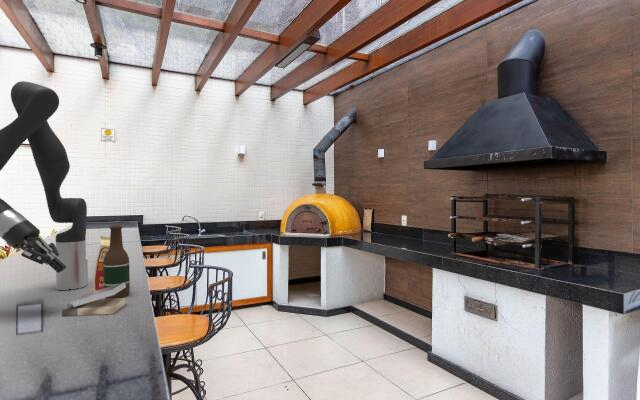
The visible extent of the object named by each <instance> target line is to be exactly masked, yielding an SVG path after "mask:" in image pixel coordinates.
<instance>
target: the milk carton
mask: <svg viewBox="0 0 640 400" xmlns="http://www.w3.org/2000/svg"><path fill="white" fill-rule="evenodd" d="M99 238H100V246H99V250H98V253H97V257H96V261H95V267H94V274H93V281H92V282H93V283H92V284H93V286H92V287H93V290H92V292H93V291H97V290H100V289H103V288H104V287H103V261H104V257H105V254H106V253H107V252H108V250H109V247H110V236H109V237H108V236H104V235H100V237H99ZM123 240H124V238H122V241H123Z"/></svg>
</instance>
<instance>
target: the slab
mask: <svg viewBox="0 0 640 400" xmlns="http://www.w3.org/2000/svg"><path fill="white" fill-rule="evenodd" d="M125 287H126V285H125V282H124V283H120V284H117V285H113V286H110V287H107V288H103V289H100V290H97V291H93V290H92V291H90V292H87V293H84V294H83V295H81V296H79V297H78V298H76V299H75V300H72V301H70V302H69V303H68V304H67V306H68V307H72V306H73V307H76V306H79V305H82V304H86V303H89V302H92V301H95V300H99V299H106V298H105V297H109V296H112V295H115V294H116V293H118V292H119V291H121V290H122V289H124V288H125ZM67 306H66V307H67Z"/></svg>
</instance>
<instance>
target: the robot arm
mask: <svg viewBox="0 0 640 400" xmlns="http://www.w3.org/2000/svg"><path fill="white" fill-rule="evenodd" d="M10 99H11V103H12V106H13V108H14V110H15V112H16V114H17V117H16V118H15V119H14V120H13V121H12V122H10V123H9V124H8V125H6V126H4V127H3V128H0V172H1V170H3V168H4V167H6V164H7V163H8V162H9V161H10V159H11V158H12V157H13V155H15V152H17V150H18V149H19V147H21V146H22V145H23V144H24V142H25V141H26V140H27V141H28V144H29V147H30V150H31V154H32V157H33V161H34V164H35V166H36V169H37V171H38V175H39V177H40V180H41V184H42V186H43V190H44V194H45V198H46V199H45V200H46V203H47V209H48V214H49V216H50V218H51V220H52V221H53V222H55V223H57V224H58V223H59V224H67V223H68V224H72V226H71V228H69V229H68V230H66V231H62V232H59V233H57V234H56V235H55V243H54V242H50V243H47V242H46V241H45V240H44V239H43V238H41V237H39V236H40V233H41V230H40V229H39V228H38V227H37V226H36V225H34V224H33V223H32V222H31V221H29V219H27V217H25V215H23V214H21V213H20V212H19V211H17V210H15V208H13V207H12V206H11V205H10V204H8V202H7V201H5V200H4V199H3V198H1V197H0V238H1V239H2V240H3V241H5V242H6V243H7V244H8V245H9V246H10V247H11V248H12V249H15V250H19V249H20V250H22V253H21V254H20V256H21V257H24V258H26V259H28V260H30V261H32V262H35V263H38V264H39V265H46V266H47V265H48V266H49V267H50V268H51V269H53V270H54V271H55V289H56V290H57V291H70V290H69V289H71V290H77V288H78V289H81V288H84V287H86V286H87V285H89V270H88V269H89V263H88V259H87V248H86V246H87V245H86V244H87V243H86V241H87V240H86V234H87V215H88V208H87V202H86V200H85V199H84V198H82V197H62V196H61V191H60V189H61V186H62V185H63V183H64V180H65V179H66V177H67V176H68V173H69V171H70V168H71V167H70V166H71V165H70V162H69V158H68V157H69V156H68V154H67V153H68V152H67V150H66V148H65V146H64V144H63V142H61V139H60V138H59V137H58V135H57V134H56V133H55V132H54V130H53V129H52V128H51V126H50V124H49V122H48V120H49V119H50V118H51V117H52V116H53V115H54V113H56V111H57V110H58V108H59V106H60V98H59V95H58V94H57V92H56V91H55V90H54V89H52V88H50V87H48V86H44V85H41V84H38V83H34V82H29V81H24V80H22V81H18V82H16V83H15V84H14V85H13V86H12V87H11V89H10Z"/></svg>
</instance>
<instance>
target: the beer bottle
mask: <svg viewBox="0 0 640 400" xmlns="http://www.w3.org/2000/svg"><path fill="white" fill-rule="evenodd" d="M109 229H110V236H109V238H110V247H109V250H108V252H107V253H106V254H105V257H104V261H103V287H104V288H107V287H110V286H113V285H117V284H120V283H124V282H125V285H126V287H125V288H124V289H122V290H121V291H119V292H118V293H116V294H115V295H112V296H109V297H105V298H104V299H115V298H126V297H129V296H130V291H131V290H130V289H131V288H130V285H131V284H130V280H131V279H130V257H129V255H128V253H127V251H126V250H125V248H124V245H123V240H122V239H123V233H122V232H123V231H122V229H123V226H122V225H121V224H112V225H109Z"/></svg>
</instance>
